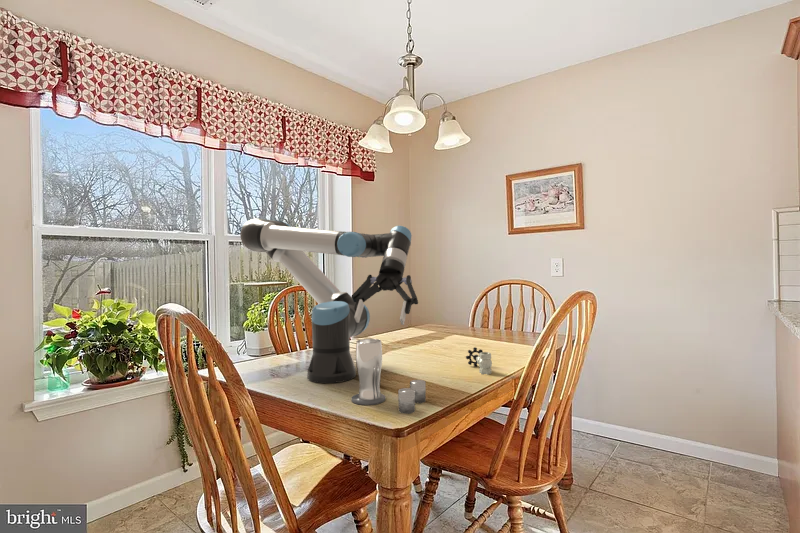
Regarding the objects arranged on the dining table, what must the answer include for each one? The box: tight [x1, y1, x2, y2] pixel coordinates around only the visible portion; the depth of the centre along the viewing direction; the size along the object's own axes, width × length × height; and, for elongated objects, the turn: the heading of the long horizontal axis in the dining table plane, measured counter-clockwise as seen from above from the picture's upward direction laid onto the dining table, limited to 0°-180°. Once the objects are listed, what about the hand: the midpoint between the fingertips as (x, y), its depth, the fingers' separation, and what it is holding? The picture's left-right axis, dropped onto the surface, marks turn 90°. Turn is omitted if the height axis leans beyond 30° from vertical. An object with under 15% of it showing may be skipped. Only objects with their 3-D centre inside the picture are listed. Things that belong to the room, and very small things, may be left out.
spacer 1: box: [397, 387, 416, 415], centre depth 107 cm, size 4×4×5 cm
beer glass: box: [355, 338, 383, 401], centre depth 116 cm, size 7×7×15 cm
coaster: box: [350, 393, 386, 406], centre depth 116 cm, size 9×9×1 cm
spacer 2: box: [409, 379, 427, 404], centre depth 115 cm, size 4×4×5 cm
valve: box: [465, 346, 493, 376], centre depth 146 cm, size 7×7×12 cm
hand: (378, 321), depth 126 cm, fingers open, 13 cm apart
